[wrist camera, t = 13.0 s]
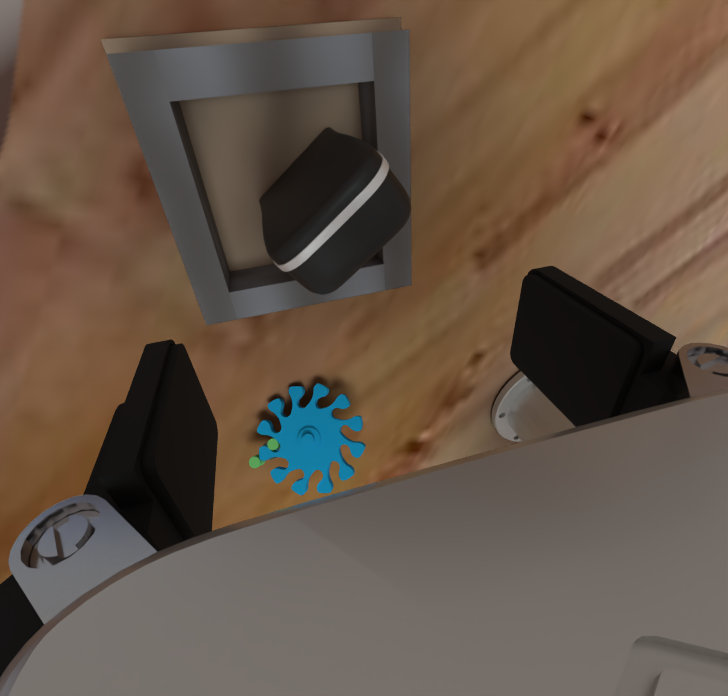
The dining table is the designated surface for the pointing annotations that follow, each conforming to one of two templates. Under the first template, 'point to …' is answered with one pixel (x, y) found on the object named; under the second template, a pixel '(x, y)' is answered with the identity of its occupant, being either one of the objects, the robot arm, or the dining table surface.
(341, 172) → the battery charger
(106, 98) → the dining table surface
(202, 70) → the frame
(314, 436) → the gear
